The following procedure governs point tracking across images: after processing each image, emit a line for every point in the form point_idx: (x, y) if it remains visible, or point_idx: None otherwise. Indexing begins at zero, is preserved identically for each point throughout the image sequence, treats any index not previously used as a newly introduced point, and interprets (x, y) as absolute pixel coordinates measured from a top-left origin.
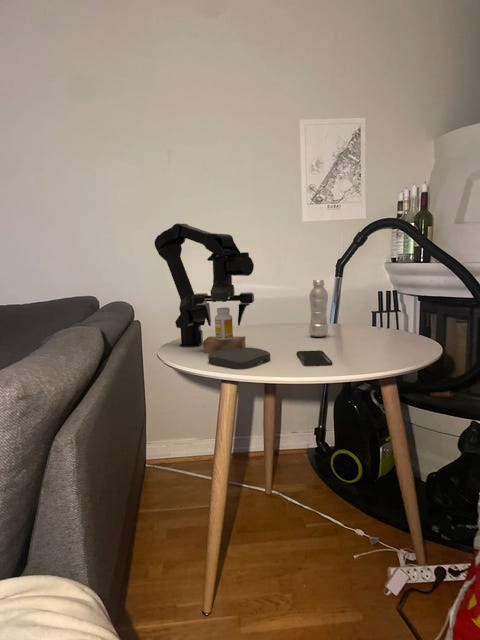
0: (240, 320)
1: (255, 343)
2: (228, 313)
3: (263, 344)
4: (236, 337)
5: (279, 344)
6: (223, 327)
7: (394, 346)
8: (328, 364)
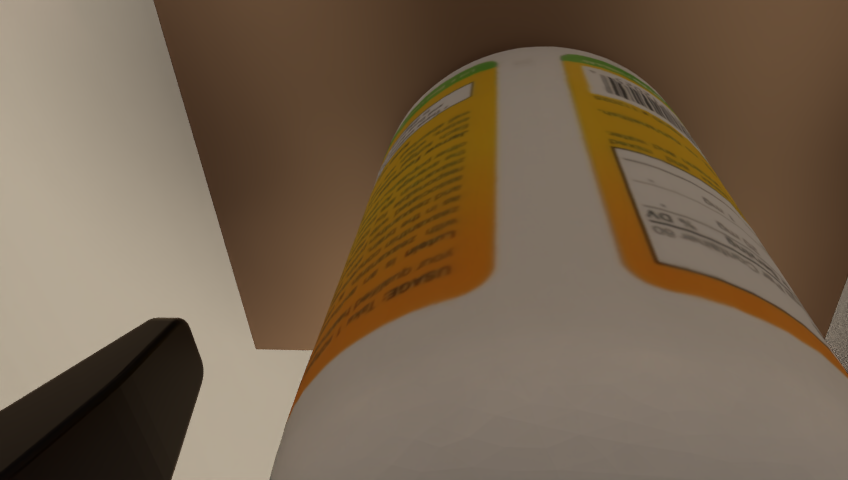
0: (28, 394)
1: (259, 412)
2: None
3: None
4: None
5: (21, 370)
6: (519, 150)
7: None
8: None
